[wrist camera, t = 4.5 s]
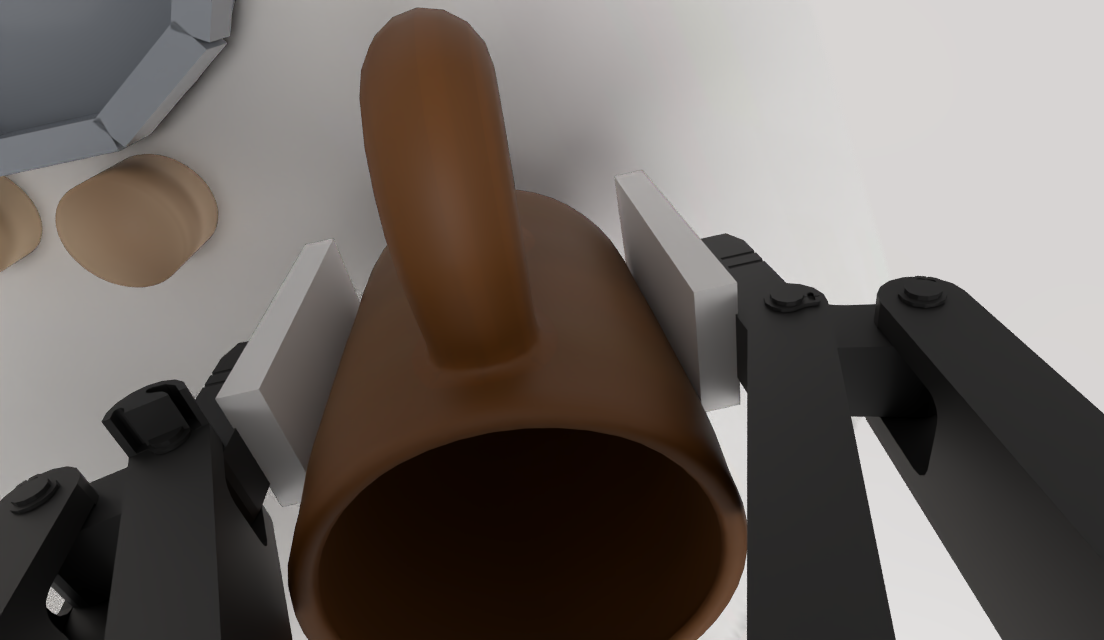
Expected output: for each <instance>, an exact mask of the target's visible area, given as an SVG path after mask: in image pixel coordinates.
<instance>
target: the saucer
mask: <svg viewBox="0 0 1104 640" xmlns="http://www.w3.org/2000/svg"><path fill="white" fill-rule="evenodd" d="M235 1H236V0H0V177H1V176H5V175H10V174H15V173H19V172H24V171H29V170H33V169H38V168H42V167H47V166H52V165H56V164H61V163H66V162H70V161H75V160H79V159H84V158H89V157H93V156H98V155H103V154H107V153H112V152H116V151H120V150H122V149H124V148H126V147H128V146H130V145H132V144H133V143H135V142H137V141H139V140H141V139H143V138H145V137H146V136H148V135H150V134H151V133H152V132H153V131H154V130H155V128H156V127H157V126H158V125H159V124H160V122H161V121H162V120H163V119H164V118H165V117H166V115H167V114H168V113H169V112H170V111H171V109H172V108H173V107H174V106H175V105H176V104H177V102H178V101H179V100H180V99H181V98H182V96H183V95H184V94H185V93H186V92H187V91H188V90H189V89H190V88H191V87H192V86H193V85H194V84H195V83H196V82H197V80H198V79H199V77H200V76H201V75H202V73H203V72H204V70H205V69H206V68H207V67H208V66H209V64H210V63H211V62H212V61H213V60H214V59H215V57H216V56H217V55H218V54H219V53H220V51H221V50H222V49H223V48H224V47H225V46H226V44H227V42H226V41H224V40H223V38H226V37H229V36H230V32H231V20H232V11H233V7H234V4H235Z"/></svg>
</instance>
